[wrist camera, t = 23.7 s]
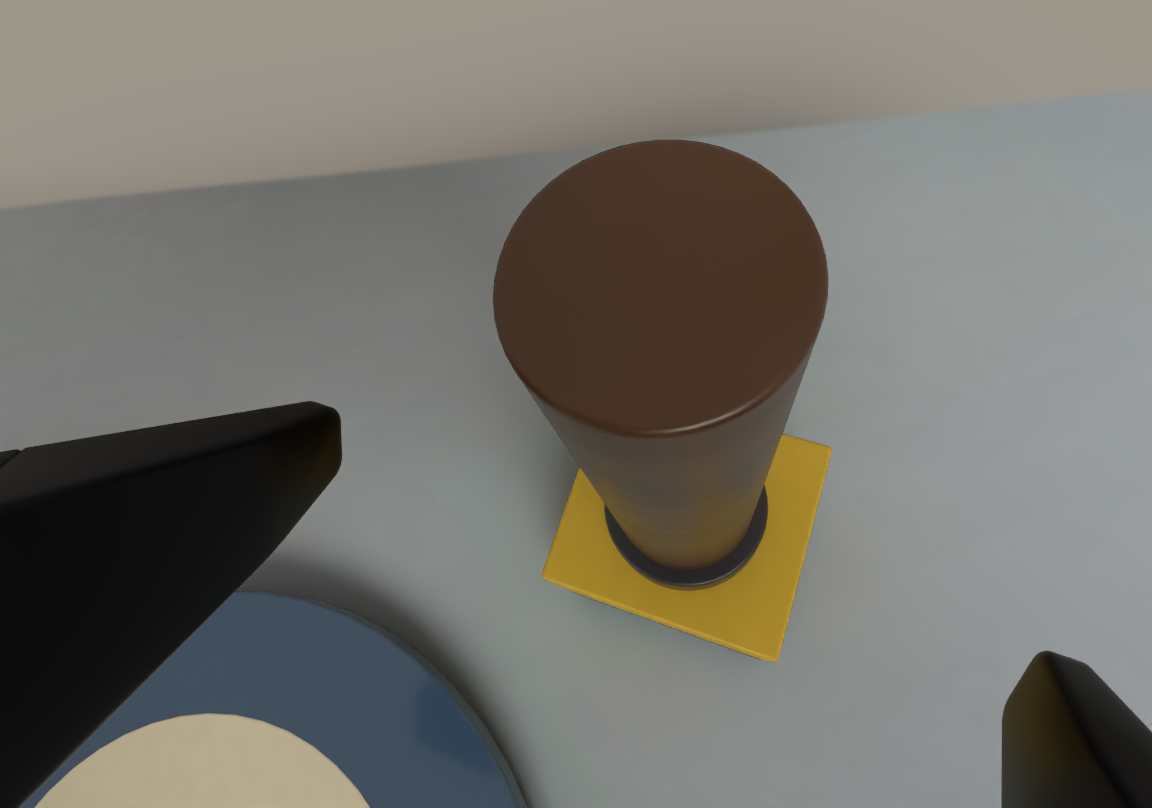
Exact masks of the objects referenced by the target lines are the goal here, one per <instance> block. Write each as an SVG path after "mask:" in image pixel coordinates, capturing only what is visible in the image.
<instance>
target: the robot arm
mask: <svg viewBox="0 0 1152 808" xmlns="http://www.w3.org/2000/svg"><path fill="white" fill-rule="evenodd" d="M341 461H342V444H341V420H340V415H339V413H338V412H337V411H336V410H335V409H334V408H332V407H329V406H326V405H323V404H320V403H317V402H313V401H306V402H300V403H294V404H288V405H282V406H276V407H270V408H264V409H258V410H252V411H246V412H240V413H234V414H228V415H222V416H216V417H210V418H204V419H198V420H192V421H186V422H179V423H173V424H167V425H161V426H155V427H149V428H143V429H137V430H131V431H125V432H119V433H113V434H107V435H101V436H95V437H89V438H83V439H77V440H71V441H65V442H59V443H53V444H46V445H40V446H34V447H28V448H25V449H23V450H22V451H20V450H17V449H16V450H9V451H3V452H0V808H20V807H21V806H22V805H23V804H24V803H25V802H26V800H27V799H28V798H29V797H30V796H31V795H32V794H33V793H34V792H35V791H36V790H37V789H38V788H39V787H40V786H41V785H42V784H43V783H44V782H45V781H46V780H47V779H48V778H49V777H50V776H51V775H52V774H53V773H54V772H55V771H56V770H57V769H58V768H59V767H60V766H61V765H62V764H63V763H64V762H65V761H66V760H67V759H68V758H69V757H70V756H71V755H72V754H73V753H74V752H75V751H76V750H77V749H78V748H79V747H80V746H81V745H82V744H83V743H84V742H85V741H86V740H87V739H88V738H89V737H90V736H91V735H92V734H93V733H94V732H95V731H96V730H97V729H98V728H99V727H100V726H101V725H102V724H103V723H104V722H105V721H106V720H107V719H108V718H109V717H110V716H111V715H112V714H113V713H114V712H115V711H116V710H117V709H118V708H119V707H120V706H121V705H122V704H123V703H124V702H125V701H126V700H127V699H128V698H129V697H130V696H131V695H132V694H133V693H134V692H135V691H136V690H137V689H138V688H139V687H140V686H141V685H142V684H143V683H144V682H145V681H146V680H147V679H148V678H149V677H150V676H151V675H152V674H153V673H154V672H155V671H156V670H157V669H158V668H159V667H160V666H161V665H162V664H163V663H164V662H165V661H166V660H167V659H168V658H169V657H170V656H171V655H172V654H173V653H174V652H175V651H176V650H177V649H178V648H179V647H180V646H181V645H182V644H183V643H184V642H185V641H186V640H187V639H188V638H189V637H190V636H191V635H192V634H193V633H194V632H195V631H196V630H197V629H198V628H199V627H200V626H201V625H202V624H203V623H204V622H205V621H206V620H207V619H208V618H209V617H210V616H211V615H212V614H213V613H214V612H215V611H216V609H217V608H218V607H219V606H220V605H221V604H222V603H223V602H224V601H225V600H226V599H227V598H228V597H229V596H230V595H231V594H232V593H233V592H234V591H235V590H236V589H237V588H238V587H239V586H240V585H241V584H242V583H243V582H244V581H245V580H246V579H247V578H248V577H249V576H250V575H251V574H252V573H253V572H254V571H255V570H256V569H257V568H258V567H259V566H260V565H261V564H262V563H263V562H264V561H265V560H266V559H267V558H268V557H269V556H270V555H271V554H272V552H273V551H274V550H275V549H276V548H277V547H278V545H279V544H280V543H281V542H282V541H283V540H284V538H285V537H286V536H287V535H288V534H289V532H290V531H291V530H292V529H293V527H294V526H295V525H296V524H297V522H298V521H299V520H300V519H301V518H302V516H303V515H304V514H305V513H306V511H307V510H308V509H309V508H310V506H311V505H312V504H313V503H314V502H315V500H316V499H317V498H318V497H319V495H320V494H321V493H322V492H323V491H324V489H325V488H326V487H327V486H328V484H329V483H330V482H331V481H332V479H333V478H334V477H335V476H336V474H337V472H338V470H339V468H340V465H341ZM1002 808H1152V732H1151V731H1150V730H1149V729H1148V727H1147V726H1146V725H1145V724H1144V723H1143V722H1142V721H1141V720H1140V719H1139V718H1138V717H1137V716H1136V715H1135V714H1134V713H1133V712H1132V711H1131V710H1130V709H1129V708H1128V706H1127V705H1126V704H1125V703H1124V702H1123V701H1122V700H1121V699H1120V698H1119V697H1118V696H1117V695H1116V694H1115V693H1114V692H1113V691H1112V690H1111V689H1110V688H1109V687H1108V685H1107V684H1106V683H1105V682H1104V681H1103V680H1102V679H1101V678H1100V677H1099V676H1098V675H1097V674H1096V673H1095V672H1094V671H1093V670H1092V669H1091V668H1090V667H1089V666H1088V665H1086V664H1085V663H1083V662H1080V661H1078V660H1075V659H1072V658H1069V657H1066V656H1063V655H1060V654H1057V653H1054V652H1051V651H1043V652H1040V653H1038V654H1037V655H1036V656H1035V657H1034V658H1033V659H1032V661H1031V663H1030V664H1029V666H1028V667H1027V669H1026V671H1025V672H1024V674H1023V676H1022V677H1021V679H1020V680H1019V682H1018V684H1017V685H1016V687H1015V688H1014V690H1013V692H1012V693H1011V695H1010V696H1009V698H1008V700H1007V702H1006V705H1005V708H1004V711H1003V717H1002Z"/></svg>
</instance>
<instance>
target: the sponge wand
mask: <svg viewBox="0 0 1152 808" xmlns="http://www.w3.org/2000/svg"><path fill="white" fill-rule="evenodd" d="M827 298H828V269H827V261H826V255H825V251H824V248H823V244H822V241H821V237H820V235H819V233H818V231H817V229H816V226H815V224H814V222H813V220H812V218H811V216H810V215H809V213H808V212H807V210H806V209H805V207H804V206H803V204H802V202H801V201H800V200H799V199H798V197H797V196H796V195H795V194H794V193H793V192H792V190H791V189H790V188H789V187H788V186H787V185H786V184H785V183H784V182H783V181H781V180H780V179H779V178H778V177H777V176H776V175H775V174H773V173H772V172H771V171H769V170H768V169H766V168H765V167H763V166H762V165H760V164H759V163H757V162H755V161H753V160H751V159H749V158H747V157H745V156H743V155H741V154H739V153H737V152H734V151H731V150H728V149H725V148H723V147H720V146H715V145H711V144H706V143H702V142H695V141H686V140H653V141H644V142H637V143H632V144H628V145H623V146H619V147H616V148H613V149H610V150H607V151H604V152H601V153H599V154H596V155H594V156H592V157H590V158H587V159H585V160H583V161H581V162H580V163H578V164H576V165H574V166H573V167H571V168H569V169H567V170H566V171H564V172H563V173H562V174H560V175H559V176H558V177H556V178H555V179H554V180H552V181H551V182H550V183H549V184H548V185H546V186H545V187H544V188H543V189H542V190H541V191H540V192H539V193H538V194H537V195H536V196H535V197H534V198H533V199H532V201H531V202H530V203H529V204H528V205H527V206H526V208H525V209H524V210H523V211H522V213H521V214H520V216H519V217H518V219H517V220H516V222H515V223H514V225H513V227H512V229H511V231H510V233H509V235H508V237H507V239H506V241H505V243H504V246H503V249H502V252H501V254H500V257H499V260H498V265H497V270H496V275H495V280H494V291H493V307H494V319H495V323H496V328H497V332H498V336H499V339H500V342H501V344H502V347H503V349H504V352H505V355H506V357H507V358H508V360H509V362H510V363H511V365H512V367H513V369H514V370H515V372H516V374H517V375H518V377H519V378H520V380H521V381H522V382H523V384H524V385H525V387H526V388H527V390H528V391H529V393H530V394H531V396H532V397H533V399H534V400H535V402H536V403H537V405H538V406H539V408H540V409H541V410H542V412H543V413H544V415H545V416H546V418H547V419H548V421H549V422H550V424H551V425H552V427H553V428H554V430H555V431H556V433H557V434H558V436H559V437H560V438H561V440H562V441H563V443H564V444H565V446H566V447H567V449H568V450H569V452H570V453H571V455H572V456H573V458H574V459H575V461H576V462H577V463H578V465H579V466H580V467H579V470H578V473H577V476H576V479H575V481H574V484H573V487H572V490H571V493H570V496H569V498H568V501H567V504H566V507H565V510H564V512H563V515H562V518H561V521H560V524H559V527H558V529H557V532H556V535H555V538H554V541H553V544H552V546H551V549H550V552H549V555H548V558H547V560H546V563H545V566H544V569H543V572H542V578H543V579H545V580H547V581H549V582H552V583H554V584H556V585H558V586H561V587H563V588H565V589H567V590H570V591H572V592H574V593H577V594H579V595H582V596H585V597H588V598H591V599H593V600H596V601H599V602H602V603H604V604H607V605H610V606H613V607H616V608H618V609H621V610H624V611H627V612H629V613H632V614H635V615H638V616H640V617H643V618H646V619H649V620H652V621H654V622H657V623H660V624H663V625H665V626H668V627H671V628H674V629H677V630H679V631H682V632H685V633H688V634H690V635H693V636H696V637H699V638H701V639H704V640H707V641H710V642H713V643H715V644H718V645H721V646H724V647H726V648H729V649H732V650H735V651H738V652H740V653H743V654H746V655H749V656H751V657H754V658H757V659H760V660H767V661H773V662H776V661H777V660H778V659H779V655H780V651H781V647H782V643H783V640H784V636H785V632H786V628H787V624H788V620H789V616H790V612H791V608H792V604H793V601H794V597H795V593H796V589H797V585H798V581H799V577H800V573H801V569H802V565H803V562H804V558H805V554H806V550H807V546H808V542H809V538H810V534H811V530H812V526H813V523H814V519H815V515H816V511H817V507H818V503H819V499H820V495H821V491H822V487H823V483H824V480H825V476H826V472H827V468H828V464H829V460H830V456H831V452H832V449H831V447H829V446H825V445H822V444H818V443H814V442H811V441H807V440H803V439H800V438H796V437H792V436H789V435H785V434H782V433H783V430H784V428H785V425H786V422H787V419H788V416H789V414H790V411H791V408H792V405H793V402H794V400H795V397H796V394H797V391H798V388H799V386H800V383H801V380H802V377H803V374H804V372H805V369H806V366H807V363H808V360H809V358H810V355H811V352H812V349H813V346H814V344H815V341H816V338H817V335H818V332H819V330H820V327H821V324H822V321H823V318H824V314H825V308H826V303H827Z"/></svg>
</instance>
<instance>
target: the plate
mask: <svg viewBox="0 0 1152 808" xmlns="http://www.w3.org/2000/svg"><path fill="white" fill-rule="evenodd" d="M20 808H528V807H527V805H526V802H525V800H524V798H523V795H522V793H521V791H520V788H519V786H518V784H517V782H516V779H515V777H514V775H513V772H512V770H511V768H510V767H509V765H508V763H507V761H506V760H505V758H504V756H503V755H502V753H501V751H500V750H499V748H498V746H497V744H496V743H495V741H494V739H493V738H492V736H491V734H490V732H489V731H488V729H487V727H486V726H485V724H484V723H483V722H482V721H481V719H480V718H479V717H478V715H477V714H476V713H475V712H474V710H473V709H472V708H471V706H470V705H469V704H468V702H467V701H466V700H465V699H464V697H463V696H462V695H461V693H460V692H459V691H458V690H457V688H456V687H455V686H454V685H453V684H452V683H451V682H450V681H449V680H448V679H447V678H445V677H444V676H443V675H442V674H441V673H440V672H439V671H438V670H437V669H436V668H435V667H434V666H433V665H432V664H431V663H430V662H429V661H428V660H427V659H426V658H425V657H424V656H423V655H421V654H420V653H418V652H417V651H416V650H414V649H413V648H412V647H410V646H409V645H408V644H406V643H405V642H403V641H402V640H401V639H399V638H398V637H397V636H395V635H394V634H392V633H391V632H390V631H388V630H386V629H384V628H382V627H380V626H378V625H376V624H374V623H372V622H371V621H369V620H367V619H365V618H363V617H361V616H359V615H357V614H355V613H353V612H350V611H347V610H344V609H341V608H338V607H335V606H332V605H329V604H327V603H324V602H321V601H318V600H313V599H307V598H302V597H296V596H290V595H285V594H279V593H272V592H255V591H234V592H233V593H232V594H231V595H230V596H229V597H228V598H227V599H226V600H225V601H224V602H223V603H222V604H221V605H220V606H219V607H218V608H217V609H216V611H215V612H214V613H213V614H212V615H211V616H210V617H209V618H208V619H207V620H206V621H205V622H204V623H203V624H202V625H201V626H200V627H199V628H198V629H197V630H196V631H195V632H194V633H193V634H192V635H191V636H190V637H189V638H188V639H187V640H186V641H185V642H184V643H183V644H182V645H181V646H180V647H179V648H178V649H177V650H176V651H175V652H174V653H173V654H172V655H171V656H170V657H169V658H168V659H167V660H166V661H165V662H164V663H163V664H162V665H161V666H160V667H159V668H158V669H157V670H156V671H155V672H154V673H153V674H152V675H151V676H150V677H149V678H148V679H147V680H146V681H145V682H144V683H143V684H142V685H141V686H140V687H139V688H138V689H137V690H136V691H135V692H134V693H133V694H132V695H131V696H130V697H129V698H128V699H127V700H126V701H125V702H124V703H123V704H122V705H121V706H120V707H119V708H118V709H117V710H116V711H115V712H114V713H113V714H112V715H111V716H110V717H109V718H108V719H107V720H106V721H105V722H104V723H103V724H102V725H101V726H100V727H99V728H98V729H97V730H96V731H95V732H94V733H93V734H92V735H91V736H90V737H89V738H88V739H87V740H86V741H85V742H84V743H83V744H82V745H81V746H80V747H79V748H78V749H77V750H76V751H75V752H74V753H73V754H72V755H71V756H70V757H69V758H68V759H67V760H66V761H65V762H64V763H63V764H62V765H61V766H60V767H59V768H58V769H57V770H56V771H55V772H54V773H53V774H52V775H51V776H50V777H49V778H48V779H47V780H46V781H45V782H44V783H43V784H42V785H41V786H40V787H39V788H38V789H37V790H36V791H35V792H34V793H33V794H32V795H31V796H30V797H29V798H28V799H27V800H26V802H25V803H24V804H23V805H22V806H21V807H20Z"/></svg>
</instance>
